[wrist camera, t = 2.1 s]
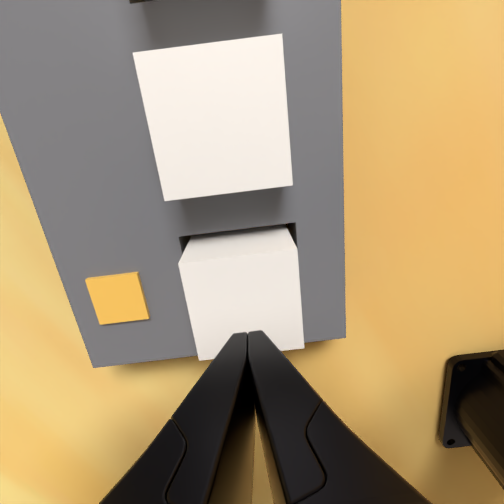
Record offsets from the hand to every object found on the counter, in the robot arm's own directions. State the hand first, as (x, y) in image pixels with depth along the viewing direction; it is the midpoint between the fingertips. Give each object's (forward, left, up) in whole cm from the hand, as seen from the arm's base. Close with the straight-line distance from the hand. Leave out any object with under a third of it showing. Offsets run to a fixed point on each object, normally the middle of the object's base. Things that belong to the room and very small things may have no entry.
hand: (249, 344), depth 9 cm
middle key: (+6, 0, -5) cm, 8 cm away
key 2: (0, 0, -5) cm, 5 cm away
